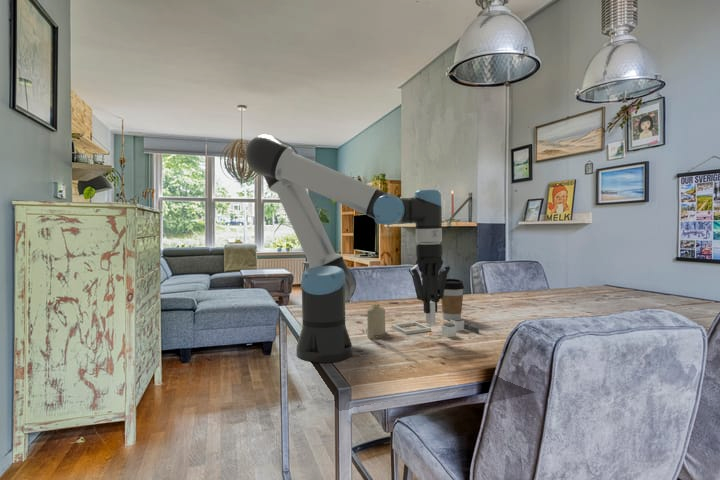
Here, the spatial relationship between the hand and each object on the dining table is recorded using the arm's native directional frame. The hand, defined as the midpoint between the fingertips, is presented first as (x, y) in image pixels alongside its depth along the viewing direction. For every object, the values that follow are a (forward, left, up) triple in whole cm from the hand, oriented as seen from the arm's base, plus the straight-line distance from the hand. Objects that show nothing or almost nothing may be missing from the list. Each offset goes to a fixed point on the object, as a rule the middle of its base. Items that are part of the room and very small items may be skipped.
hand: (430, 323), depth 120 cm
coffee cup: (+21, +18, -6) cm, 28 cm away
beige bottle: (-11, +13, -6) cm, 19 cm away
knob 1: (+7, 0, -4) cm, 8 cm away
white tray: (+6, +7, -6) cm, 11 cm away
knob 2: (+13, +5, -4) cm, 14 cm away
